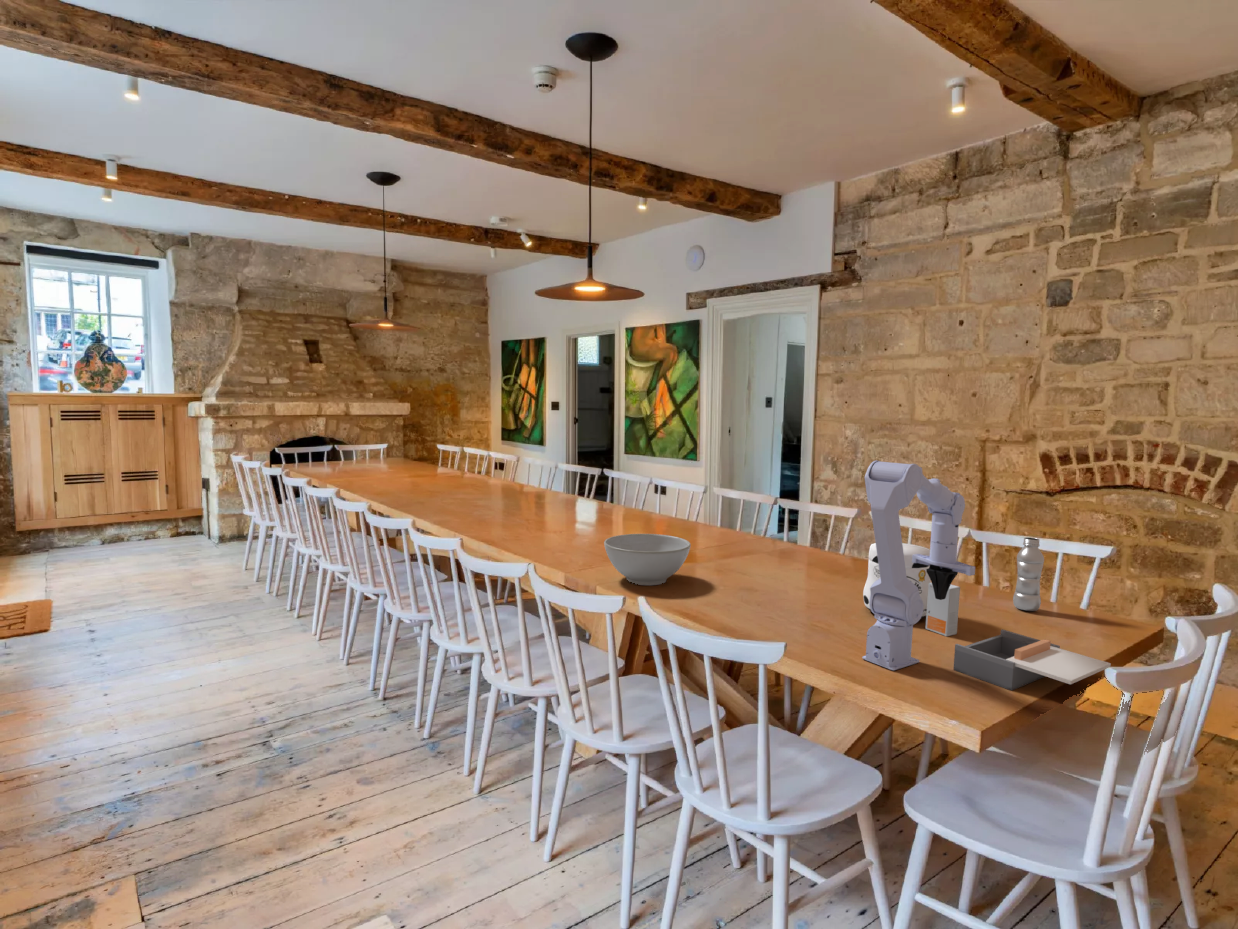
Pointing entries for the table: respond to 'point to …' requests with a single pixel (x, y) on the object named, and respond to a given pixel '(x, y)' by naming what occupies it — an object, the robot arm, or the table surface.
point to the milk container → (913, 572)
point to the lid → (1056, 662)
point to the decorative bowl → (647, 556)
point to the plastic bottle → (1028, 576)
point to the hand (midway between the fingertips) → (940, 598)
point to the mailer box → (996, 660)
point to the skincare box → (943, 611)
